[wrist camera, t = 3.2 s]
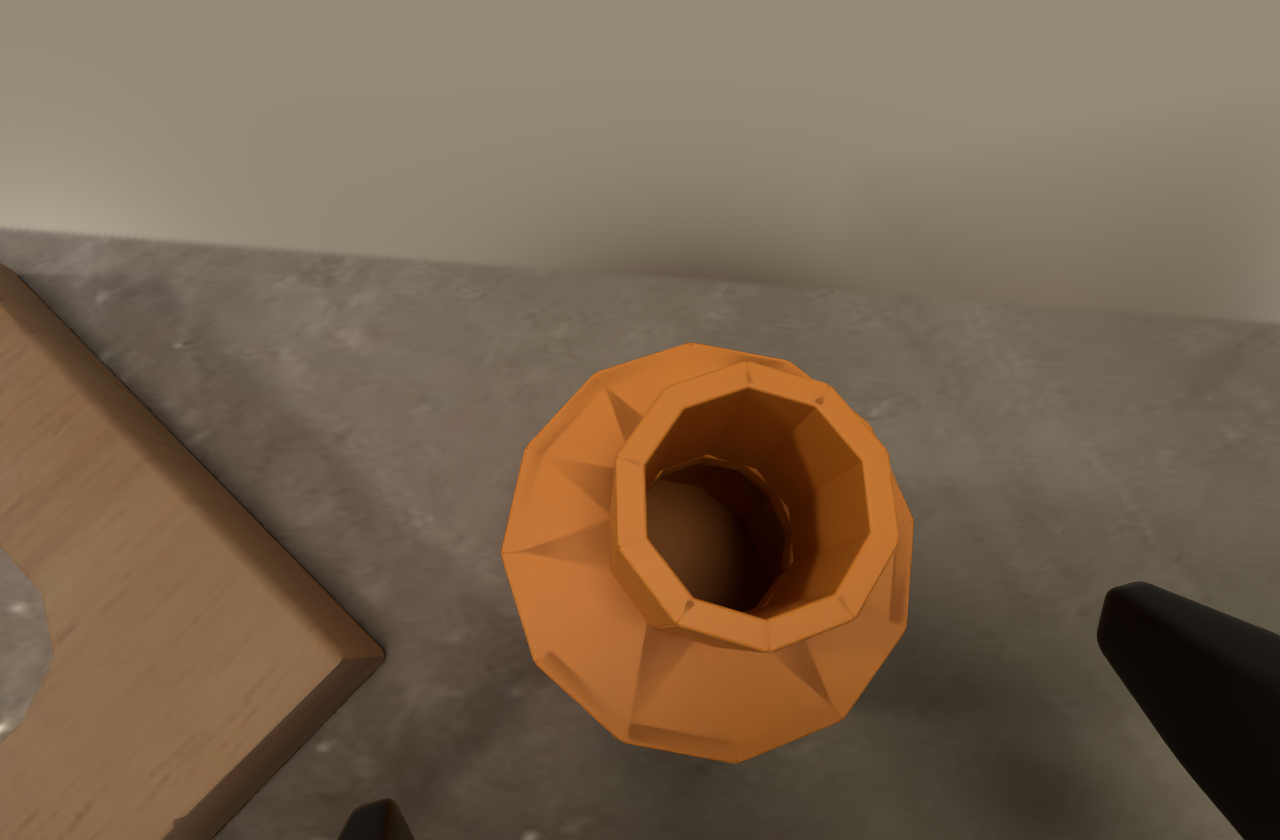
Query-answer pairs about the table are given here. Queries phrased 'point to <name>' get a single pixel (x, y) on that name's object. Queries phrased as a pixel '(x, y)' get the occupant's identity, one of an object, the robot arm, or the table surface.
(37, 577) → the wooden block
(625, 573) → the bottle
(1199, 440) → the table surface
